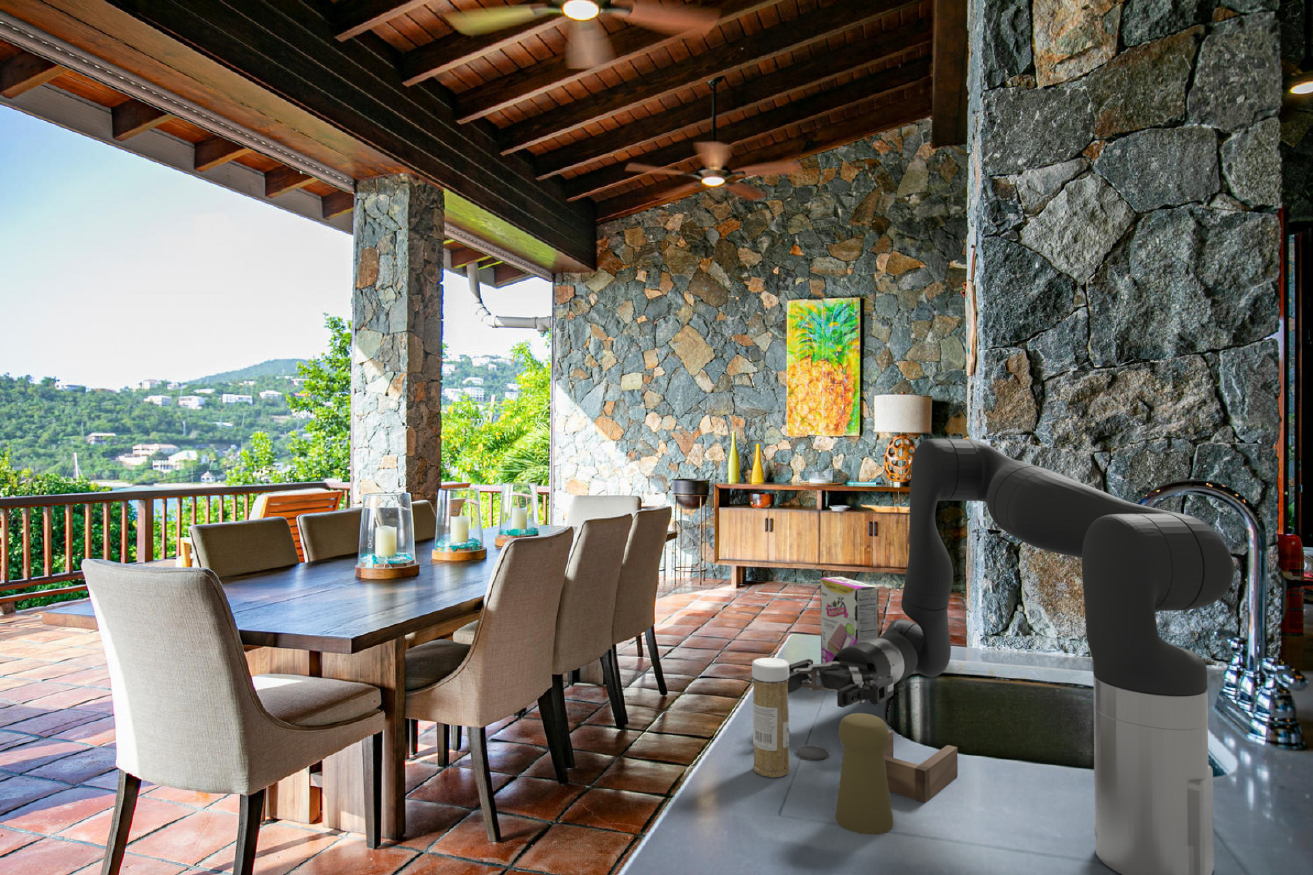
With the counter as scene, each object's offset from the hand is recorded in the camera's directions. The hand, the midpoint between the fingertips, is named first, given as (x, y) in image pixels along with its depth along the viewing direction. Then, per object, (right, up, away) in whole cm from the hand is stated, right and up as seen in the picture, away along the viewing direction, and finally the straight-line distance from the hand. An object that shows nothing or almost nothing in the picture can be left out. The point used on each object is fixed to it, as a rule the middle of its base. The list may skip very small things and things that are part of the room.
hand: (810, 692), depth 103 cm
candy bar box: (+14, -8, +34) cm, 38 cm away
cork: (+2, -7, -20) cm, 21 cm away
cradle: (+9, -7, -9) cm, 15 cm away
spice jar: (-6, -8, -7) cm, 12 cm away
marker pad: (0, -7, -2) cm, 8 cm away
